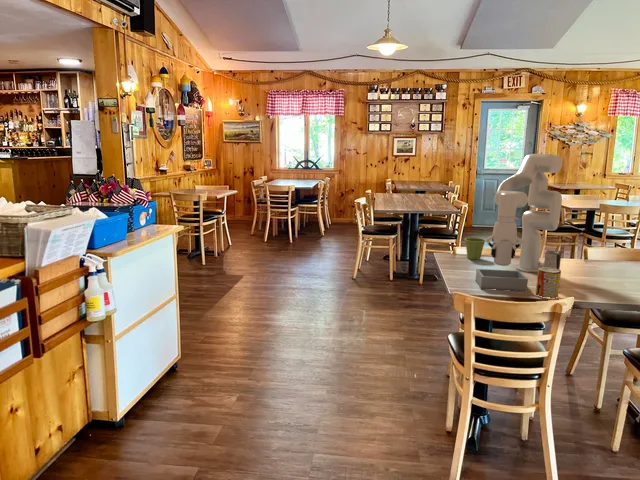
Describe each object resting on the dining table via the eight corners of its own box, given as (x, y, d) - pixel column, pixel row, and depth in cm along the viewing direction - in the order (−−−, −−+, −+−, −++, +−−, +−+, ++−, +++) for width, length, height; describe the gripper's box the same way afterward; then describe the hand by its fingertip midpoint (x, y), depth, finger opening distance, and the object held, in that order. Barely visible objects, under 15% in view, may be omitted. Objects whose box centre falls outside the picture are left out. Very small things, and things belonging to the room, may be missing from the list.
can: (502, 267, 213) (505, 241, 210) (489, 263, 219) (492, 238, 217) (514, 265, 216) (516, 239, 214) (501, 261, 223) (503, 236, 220)
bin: (518, 282, 225) (519, 270, 224) (526, 291, 212) (527, 279, 211) (475, 280, 228) (476, 268, 227) (480, 289, 215) (481, 276, 213)
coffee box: (556, 288, 217) (560, 254, 214) (541, 286, 220) (544, 252, 217) (558, 283, 224) (562, 251, 221) (543, 281, 228) (547, 249, 225)
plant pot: (485, 257, 276) (486, 238, 273) (483, 261, 265) (484, 242, 263) (464, 255, 280) (465, 236, 278) (461, 259, 270) (463, 240, 267)
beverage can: (530, 293, 209) (533, 267, 207) (548, 292, 211) (551, 266, 209) (544, 300, 201) (547, 273, 198) (562, 298, 203) (565, 272, 200)
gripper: (523, 219, 216) (520, 256, 219) (484, 217, 218) (481, 254, 222) (528, 221, 209) (524, 260, 212) (488, 220, 211) (484, 258, 215)
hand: (502, 257), depth 217 cm, fingers closed on can, 7 cm apart
